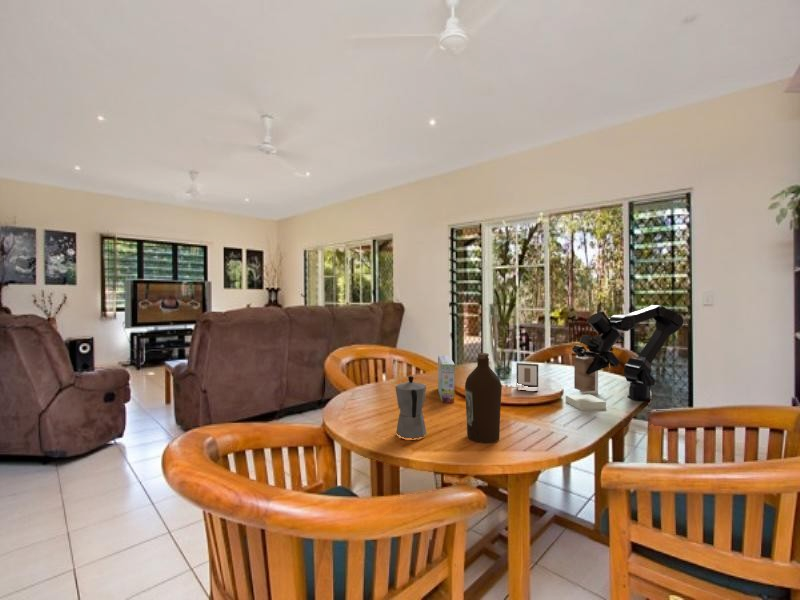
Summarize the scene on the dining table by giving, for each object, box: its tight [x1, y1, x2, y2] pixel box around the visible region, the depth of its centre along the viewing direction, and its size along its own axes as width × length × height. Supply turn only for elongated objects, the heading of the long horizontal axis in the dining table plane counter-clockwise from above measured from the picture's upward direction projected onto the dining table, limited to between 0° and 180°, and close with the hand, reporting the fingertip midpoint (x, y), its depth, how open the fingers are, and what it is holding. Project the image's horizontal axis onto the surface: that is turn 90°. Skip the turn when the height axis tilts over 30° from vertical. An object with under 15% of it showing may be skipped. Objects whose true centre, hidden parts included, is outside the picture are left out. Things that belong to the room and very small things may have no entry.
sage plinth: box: [565, 394, 607, 411], centre depth 146 cm, size 10×10×3 cm
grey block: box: [581, 370, 599, 395], centre depth 164 cm, size 5×5×12 cm
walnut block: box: [573, 356, 595, 393], centre depth 146 cm, size 5×5×12 cm
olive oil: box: [464, 352, 503, 444], centre depth 115 cm, size 11×11×25 cm
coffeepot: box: [394, 375, 427, 439], centre depth 116 cm, size 15×9×18 cm, turn 6°
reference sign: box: [516, 362, 539, 388], centre depth 169 cm, size 6×9×11 cm, turn 71°
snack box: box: [437, 355, 456, 403], centre depth 161 cm, size 21×6×15 cm, turn 179°
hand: (581, 372), depth 146 cm, fingers closed on walnut block, 5 cm apart
